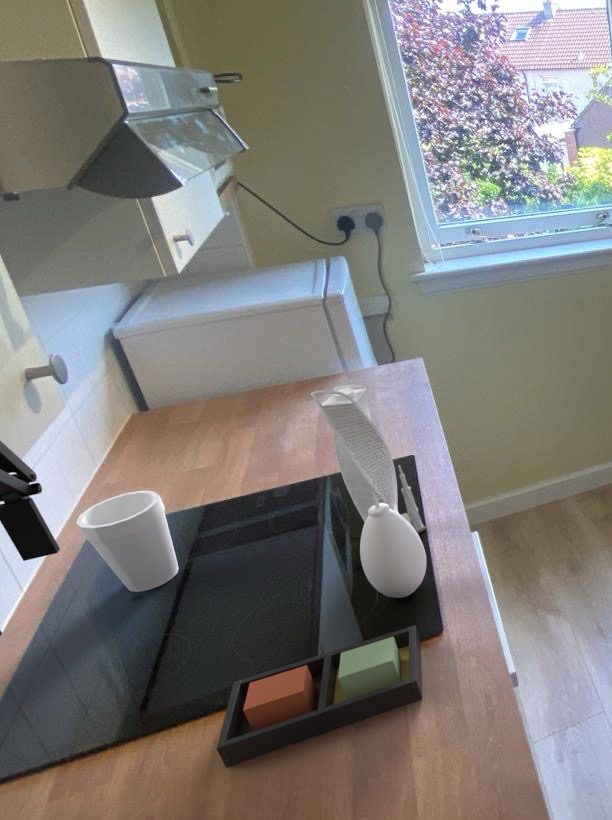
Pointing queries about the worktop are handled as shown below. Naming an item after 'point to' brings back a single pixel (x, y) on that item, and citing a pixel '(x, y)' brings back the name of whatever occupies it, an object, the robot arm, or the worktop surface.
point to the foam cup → (132, 538)
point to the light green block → (370, 668)
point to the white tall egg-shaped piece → (391, 552)
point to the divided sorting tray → (320, 702)
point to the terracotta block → (280, 698)
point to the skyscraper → (364, 453)
